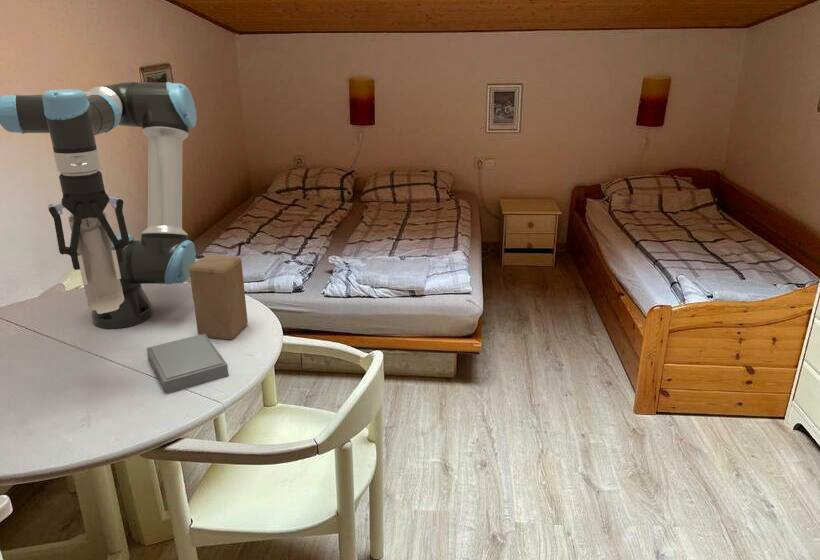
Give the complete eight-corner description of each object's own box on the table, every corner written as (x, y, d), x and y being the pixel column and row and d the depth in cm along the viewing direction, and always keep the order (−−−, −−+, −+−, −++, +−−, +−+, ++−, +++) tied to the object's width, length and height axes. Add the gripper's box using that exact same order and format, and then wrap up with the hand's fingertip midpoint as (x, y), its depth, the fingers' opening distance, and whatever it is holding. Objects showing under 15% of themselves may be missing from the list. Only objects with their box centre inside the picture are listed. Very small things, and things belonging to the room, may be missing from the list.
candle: (89, 316, 119) (67, 222, 112) (85, 292, 131) (65, 205, 123) (127, 309, 123) (108, 217, 115) (121, 286, 134) (103, 201, 126)
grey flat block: (148, 358, 143) (146, 347, 142) (206, 343, 150) (204, 332, 149) (165, 393, 129) (163, 381, 128) (228, 375, 136) (227, 363, 135)
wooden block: (232, 341, 152) (223, 269, 144) (196, 337, 153) (186, 266, 146) (249, 324, 161) (242, 256, 153) (215, 320, 163) (207, 252, 155)
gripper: (25, 180, 108) (52, 295, 117) (133, 170, 118) (151, 277, 127) (24, 173, 114) (50, 282, 123) (128, 164, 123) (145, 266, 132)
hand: (101, 279), depth 125 cm, fingers closed on candle, 6 cm apart
